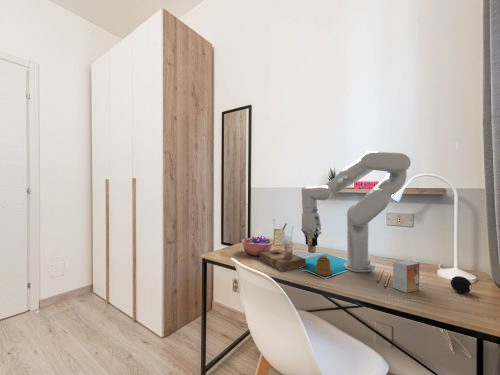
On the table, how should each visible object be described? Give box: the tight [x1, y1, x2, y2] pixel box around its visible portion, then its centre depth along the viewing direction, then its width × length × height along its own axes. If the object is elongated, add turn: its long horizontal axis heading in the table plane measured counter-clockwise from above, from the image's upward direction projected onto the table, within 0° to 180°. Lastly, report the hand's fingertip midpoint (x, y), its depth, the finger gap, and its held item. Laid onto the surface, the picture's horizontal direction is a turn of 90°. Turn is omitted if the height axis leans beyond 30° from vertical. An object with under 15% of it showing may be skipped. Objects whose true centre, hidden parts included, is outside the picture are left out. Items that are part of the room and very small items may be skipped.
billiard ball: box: [450, 275, 473, 294], centre depth 92 cm, size 6×6×6 cm
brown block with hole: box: [258, 241, 307, 272], centre depth 128 cm, size 22×14×12 cm, turn 29°
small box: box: [392, 259, 420, 293], centre depth 96 cm, size 8×6×10 cm
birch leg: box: [307, 231, 317, 254], centre depth 127 cm, size 4×4×12 cm
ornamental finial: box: [314, 255, 333, 277], centre depth 112 cm, size 8×8×8 cm
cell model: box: [241, 235, 274, 257], centre depth 144 cm, size 17×20×11 cm
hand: (311, 244), depth 127 cm, fingers closed on birch leg, 4 cm apart
